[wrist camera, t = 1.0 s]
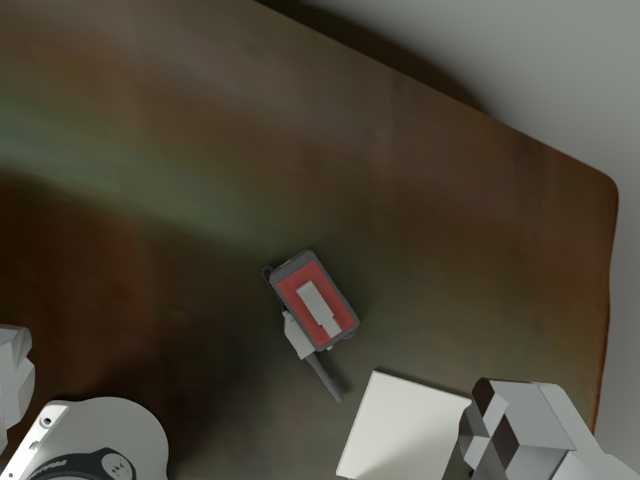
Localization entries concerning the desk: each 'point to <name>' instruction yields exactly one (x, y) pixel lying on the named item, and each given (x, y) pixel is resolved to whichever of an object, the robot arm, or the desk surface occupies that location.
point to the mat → (402, 431)
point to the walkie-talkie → (312, 309)
